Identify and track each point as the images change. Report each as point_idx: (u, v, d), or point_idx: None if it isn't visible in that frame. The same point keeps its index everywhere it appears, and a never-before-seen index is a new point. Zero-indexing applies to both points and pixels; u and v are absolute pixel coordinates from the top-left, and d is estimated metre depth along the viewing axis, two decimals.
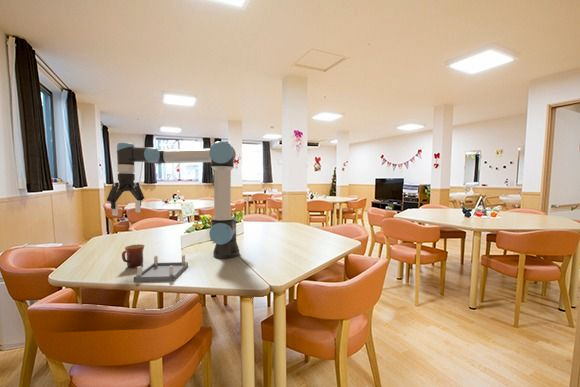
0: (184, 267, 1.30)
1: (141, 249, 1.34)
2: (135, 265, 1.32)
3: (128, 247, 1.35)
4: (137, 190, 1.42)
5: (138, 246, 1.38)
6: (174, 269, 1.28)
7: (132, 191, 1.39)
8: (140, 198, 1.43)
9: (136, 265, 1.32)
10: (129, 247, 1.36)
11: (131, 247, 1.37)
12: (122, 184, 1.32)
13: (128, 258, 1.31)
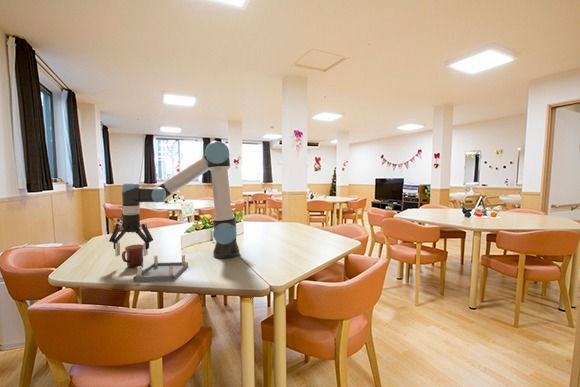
0: (184, 267, 1.30)
1: (141, 249, 1.34)
2: (135, 265, 1.32)
3: (128, 247, 1.35)
4: None
5: (138, 246, 1.38)
6: (174, 269, 1.28)
7: None
8: (145, 241, 1.32)
9: (136, 265, 1.32)
10: (129, 247, 1.36)
11: (131, 247, 1.37)
12: (123, 225, 1.31)
13: (128, 258, 1.31)
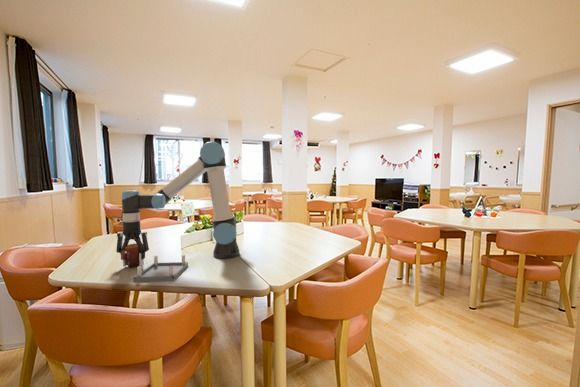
0: (184, 267, 1.30)
1: None
2: (135, 264, 1.32)
3: (128, 246, 1.35)
4: None
5: None
6: (174, 269, 1.28)
7: None
8: (141, 251, 1.32)
9: (136, 264, 1.32)
10: (129, 246, 1.36)
11: (131, 246, 1.37)
12: (124, 233, 1.31)
13: (128, 257, 1.31)
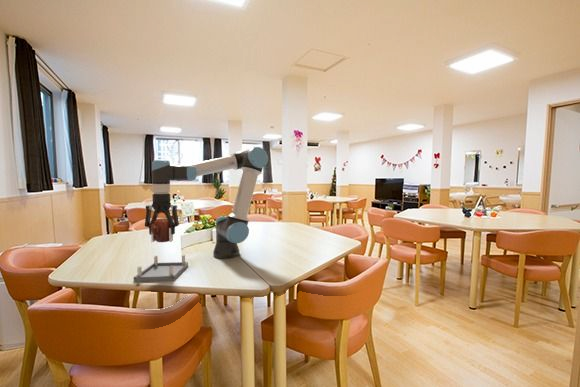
0: (184, 267, 1.30)
1: None
2: (164, 239, 1.23)
3: (156, 220, 1.26)
4: None
5: (166, 220, 1.29)
6: (174, 269, 1.28)
7: None
8: (171, 225, 1.23)
9: (165, 239, 1.23)
10: (157, 221, 1.26)
11: (159, 221, 1.27)
12: (153, 205, 1.22)
13: (157, 232, 1.22)
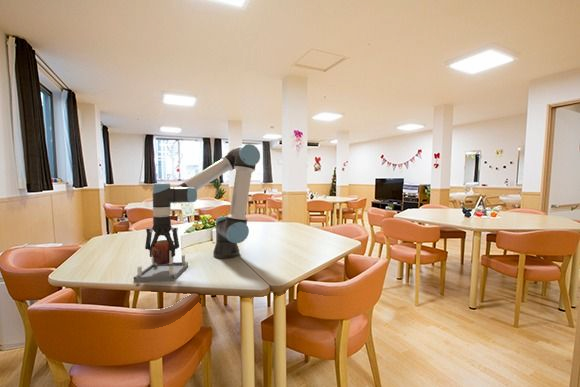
0: (184, 267, 1.30)
1: None
2: (164, 262, 1.23)
3: (157, 242, 1.26)
4: None
5: (167, 242, 1.29)
6: (174, 269, 1.28)
7: None
8: (172, 248, 1.23)
9: (165, 262, 1.23)
10: (158, 242, 1.27)
11: (159, 243, 1.28)
12: (154, 228, 1.22)
13: (157, 254, 1.22)
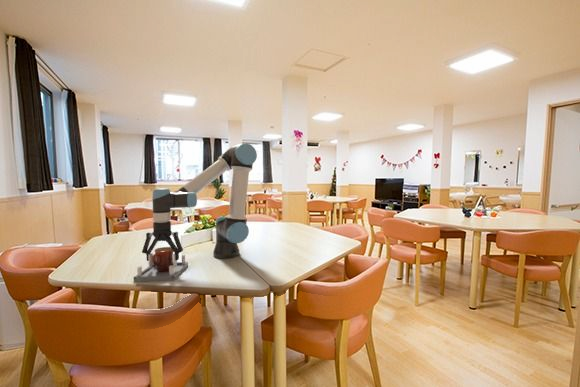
0: (184, 267, 1.30)
1: (171, 252, 1.25)
2: (165, 269, 1.23)
3: (157, 250, 1.27)
4: None
5: (167, 249, 1.30)
6: (174, 269, 1.28)
7: None
8: (175, 251, 1.24)
9: (166, 269, 1.24)
10: (158, 250, 1.27)
11: (160, 250, 1.28)
12: (154, 233, 1.23)
13: (158, 261, 1.23)
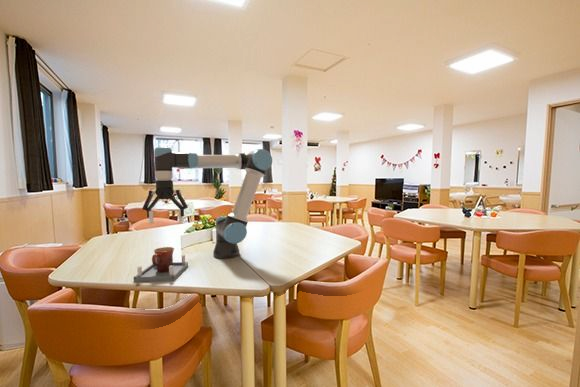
0: (184, 267, 1.30)
1: (171, 252, 1.25)
2: (165, 269, 1.23)
3: (157, 250, 1.27)
4: None
5: (167, 249, 1.30)
6: (174, 269, 1.28)
7: None
8: (180, 208, 1.26)
9: (166, 269, 1.24)
10: (158, 250, 1.27)
11: (160, 250, 1.28)
12: (156, 192, 1.24)
13: (158, 262, 1.23)
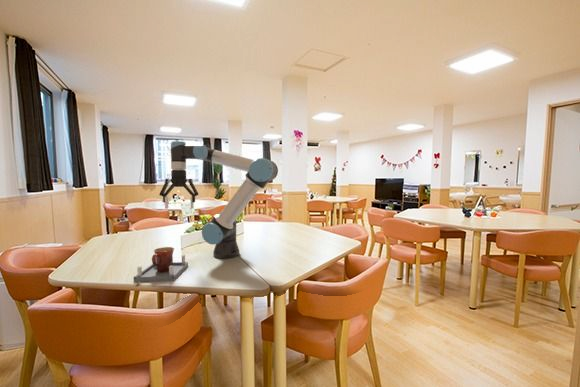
0: (184, 267, 1.30)
1: (171, 252, 1.25)
2: (165, 269, 1.23)
3: (157, 250, 1.27)
4: None
5: (167, 249, 1.30)
6: (174, 269, 1.28)
7: None
8: (192, 194, 1.43)
9: (166, 269, 1.24)
10: (158, 250, 1.27)
11: (160, 250, 1.28)
12: (172, 180, 1.42)
13: (158, 262, 1.23)
